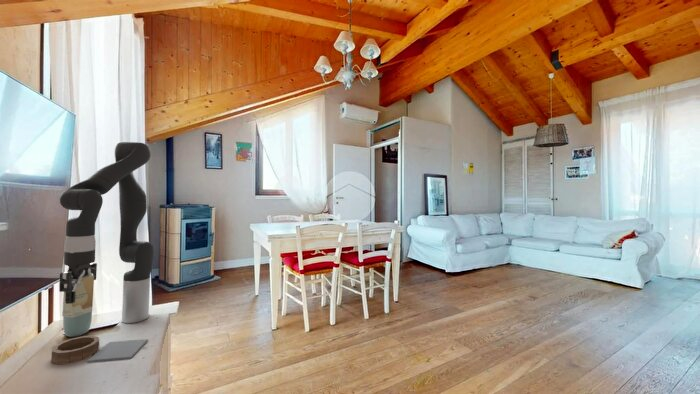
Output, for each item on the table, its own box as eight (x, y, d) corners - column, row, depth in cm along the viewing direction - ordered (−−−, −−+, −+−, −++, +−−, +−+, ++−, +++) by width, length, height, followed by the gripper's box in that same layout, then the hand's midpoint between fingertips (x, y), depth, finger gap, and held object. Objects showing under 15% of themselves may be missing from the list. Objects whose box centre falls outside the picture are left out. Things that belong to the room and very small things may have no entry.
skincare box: (72, 318, 92) (73, 280, 92) (61, 316, 93) (62, 278, 93) (93, 310, 98) (95, 274, 98) (83, 309, 99) (84, 273, 99)
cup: (77, 329, 112) (78, 303, 113) (96, 330, 112) (97, 304, 112) (56, 339, 105) (57, 311, 105) (77, 339, 104) (78, 312, 105)
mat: (109, 343, 102) (109, 342, 102) (147, 340, 105) (147, 339, 105) (87, 362, 91) (87, 360, 91) (131, 358, 93) (131, 356, 93)
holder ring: (68, 347, 99) (68, 337, 99) (105, 344, 102) (106, 334, 102) (41, 365, 88) (42, 354, 88) (84, 361, 91) (85, 350, 91)
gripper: (81, 245, 102) (79, 292, 101) (49, 253, 88) (47, 307, 87) (106, 245, 103) (104, 291, 103) (78, 253, 89) (77, 306, 89)
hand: (78, 298), depth 95 cm, fingers closed on skincare box, 7 cm apart
